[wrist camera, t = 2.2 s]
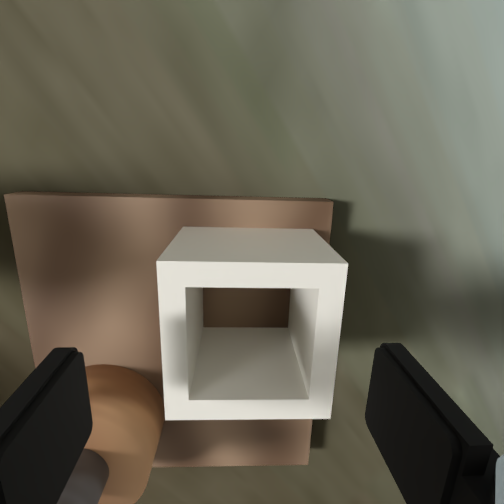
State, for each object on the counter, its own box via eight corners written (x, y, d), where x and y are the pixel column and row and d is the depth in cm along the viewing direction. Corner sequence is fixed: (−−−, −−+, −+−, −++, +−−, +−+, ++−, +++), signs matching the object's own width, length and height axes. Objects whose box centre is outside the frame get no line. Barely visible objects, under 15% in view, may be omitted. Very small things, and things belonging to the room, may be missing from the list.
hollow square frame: (312, 229, 18) (348, 263, 12) (303, 342, 20) (330, 418, 14) (183, 226, 18) (156, 260, 12) (186, 342, 19) (165, 420, 14)
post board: (326, 198, 19) (496, 279, 6) (303, 446, 24) (375, 761, 11) (22, 191, 18) (-454, 268, 6) (65, 449, 23) (-137, 791, 11)
